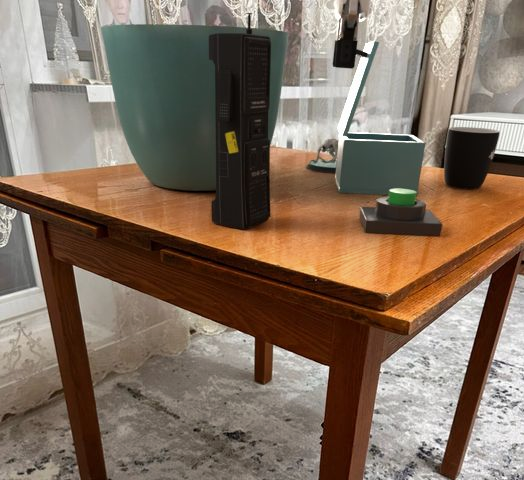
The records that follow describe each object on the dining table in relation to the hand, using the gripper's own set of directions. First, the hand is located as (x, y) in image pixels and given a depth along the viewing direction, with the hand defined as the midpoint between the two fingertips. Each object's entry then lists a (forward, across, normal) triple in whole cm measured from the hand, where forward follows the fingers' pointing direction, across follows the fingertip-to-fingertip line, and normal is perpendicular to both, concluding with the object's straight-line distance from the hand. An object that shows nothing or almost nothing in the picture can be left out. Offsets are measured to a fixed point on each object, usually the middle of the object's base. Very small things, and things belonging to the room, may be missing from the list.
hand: (343, 66), depth 91 cm
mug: (+19, +7, -26) cm, 33 cm away
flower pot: (+20, -2, +24) cm, 31 cm away
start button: (+16, -27, -8) cm, 33 cm away
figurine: (+20, +19, -1) cm, 27 cm away
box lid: (+3, 0, -3) cm, 5 cm away
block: (+19, -27, -8) cm, 34 cm away
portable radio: (+20, -29, +14) cm, 38 cm away
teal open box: (+19, 0, -8) cm, 21 cm away
